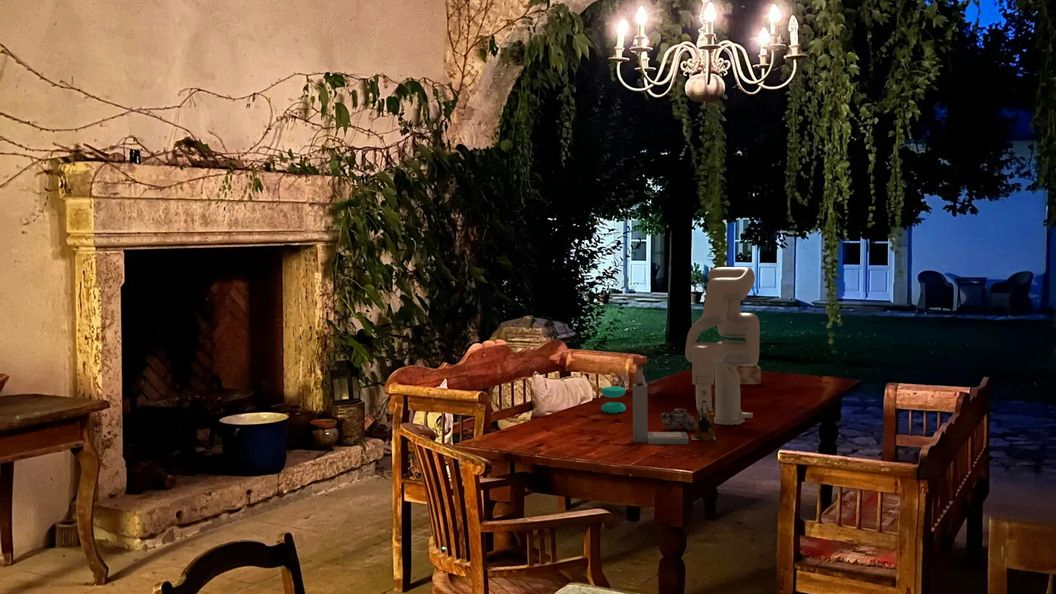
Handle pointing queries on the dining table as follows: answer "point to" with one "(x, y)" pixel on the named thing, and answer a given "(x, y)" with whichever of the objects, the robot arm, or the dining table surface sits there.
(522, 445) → the dining table surface
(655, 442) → the grey l-shaped piece
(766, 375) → the dining table surface
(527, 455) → the dining table surface
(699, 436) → the condiment
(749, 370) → the toy crate
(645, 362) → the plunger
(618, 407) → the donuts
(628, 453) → the dining table surface
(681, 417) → the mineral specimen
